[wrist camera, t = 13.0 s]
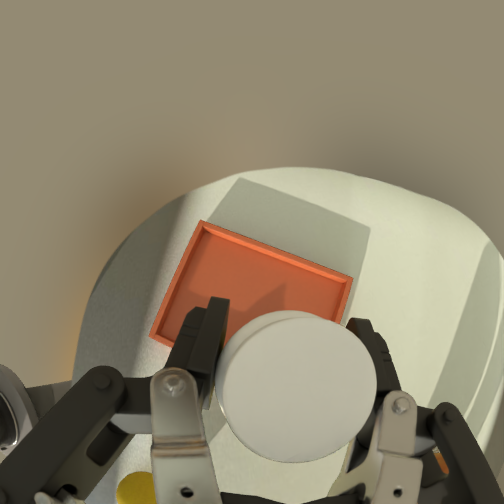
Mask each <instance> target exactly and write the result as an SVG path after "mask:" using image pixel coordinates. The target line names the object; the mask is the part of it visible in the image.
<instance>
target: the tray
mask: <svg viewBox="0 0 504 504" xmlns="http://www.w3.org/2000/svg"><path fill="white" fill-rule="evenodd" d="M352 281H353V278H352V277H350V276H347V275H345V274H342V273H339V272H337V271H334V270H332V269H329V268H327V267H324V266H321V265H319V264H316V263H314V262H311V261H308V260H306V259H303V258H301V257H298V256H295V255H293V254H290V253H288V252H285V251H282V250H280V249H277V248H274V247H272V246H269V245H267V244H264V243H261V242H259V241H256V240H253V239H251V238H248V237H245V236H243V235H240V234H237V233H235V232H232V231H229V230H227V229H224V228H221V227H219V226H216V225H213V224H211V223H208V222H205V221H203V220H200V221H199V223H198V225H197V227H196V229H195V231H194V233H193V235H192V237H191V239H190V242H189V244H188V246H187V248H186V250H185V252H184V254H183V257H182V259H181V261H180V263H179V265H178V268H177V270H176V272H175V274H174V277H173V279H172V281H171V283H170V286H169V288H168V290H167V293H166V295H165V297H164V300H163V302H162V304H161V307H160V309H159V311H158V314H157V316H156V319H155V321H154V324H153V326H152V329H151V331H150V334H149V337H150V338H152V339H154V340H156V341H158V342H160V343H162V344H165V345H167V346H169V347H171V348H173V345H174V343H175V340H176V338H177V335H178V334H179V331H180V328H181V326H182V324H183V321H184V319H185V317H186V314H187V313H188V312H189V311H191V310H192V309H193V308H194V307H195V306H197V307H202V308H207V306H208V303H209V300H210V298H211V296H215V297H220V298H226V299H230V307H229V315H228V324H227V331H226V337H225V342H224V346H225V345H226V343H227V342H228V340H229V339H230V338H231V337H232V336H233V335H234V334H235V333H236V332H237V331H238V330H239V329H241V328H242V327H243V326H244V325H246V324H247V323H249V322H250V321H251V320H253V319H255V318H257V317H259V316H261V315H264V314H267V313H271V312H275V311H284V310H295V311H303V312H308V313H311V314H314V315H316V316H319V317H321V318H323V319H326V320H330V321H333V322H335V323H337V324H340V321H341V318H342V315H343V312H344V309H345V305H346V302H347V299H348V295H349V292H350V288H351V285H352ZM224 346H223V348H224Z"/></svg>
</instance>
